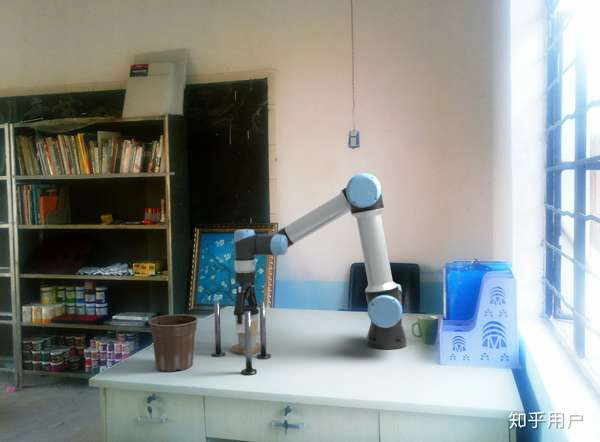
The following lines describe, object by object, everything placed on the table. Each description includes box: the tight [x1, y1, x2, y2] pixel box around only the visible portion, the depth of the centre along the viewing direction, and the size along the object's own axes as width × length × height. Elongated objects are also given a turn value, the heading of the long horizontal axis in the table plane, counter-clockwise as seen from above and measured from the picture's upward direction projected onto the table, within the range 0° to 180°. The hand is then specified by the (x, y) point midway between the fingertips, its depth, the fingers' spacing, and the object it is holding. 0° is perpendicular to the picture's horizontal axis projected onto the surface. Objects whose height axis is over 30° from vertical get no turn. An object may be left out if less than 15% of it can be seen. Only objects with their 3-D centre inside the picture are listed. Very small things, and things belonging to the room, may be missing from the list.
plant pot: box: [148, 314, 199, 373], centre depth 179 cm, size 16×16×16 cm
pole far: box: [210, 299, 226, 358], centre depth 191 cm, size 5×5×20 cm
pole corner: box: [256, 300, 272, 360], centre depth 188 cm, size 5×5×20 cm
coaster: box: [230, 342, 261, 356], centre depth 197 cm, size 12×12×1 cm
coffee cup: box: [234, 304, 260, 349], centre depth 197 cm, size 9×9×15 cm
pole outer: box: [240, 311, 258, 376], centre depth 171 cm, size 5×5×20 cm
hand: (246, 328), depth 197 cm, fingers open, 13 cm apart
